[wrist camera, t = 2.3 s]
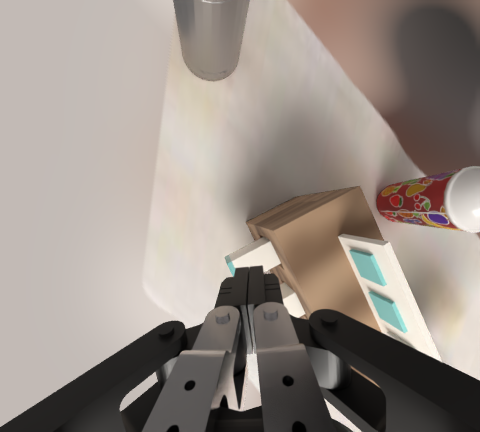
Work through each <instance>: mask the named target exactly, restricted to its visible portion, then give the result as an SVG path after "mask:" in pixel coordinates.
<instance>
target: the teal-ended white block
mask: <svg viewBox="0 0 480 432" xmlns="http://www.w3.org/2000/svg"><path fill="white" fill-rule="evenodd" d="M225 259H226V262H227V265H228V267H229V269H230V271H231V273H232V275H233V277H234V273H235V268H239V267H249V269H250V266H261V265H263V271H264V272H266V271H268V270H270V269H272V268H273V267H275V266H277V265H279V264H281V262H280V260H279V258H278V256H277V254H276V252H275V250H274V248H273V246H272V244H271V242H270V240H269V239H267V238H265V237H262V238H260V239H258V240H257V241H255V242H253V243H251V244H249V245H247V246H245V247H243V248H241V249H239V250H237V251H235V252H233V253H232V254H230V255H228V256H226V257H225Z"/></svg>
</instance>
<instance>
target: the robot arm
mask: <svg viewBox="0 0 480 432" xmlns="http://www.w3.org/2000/svg"><path fill="white" fill-rule="evenodd" d="M249 1H250V0H173V2H174V8H175V14H176V19H177V25H178V31H179V37H180V43H181V49H182V54H183V58H184V61H185V63H186V65H187V67H188V68H189V69H190V70H191V72H192V73H194V74H195V75H196V76H198V77H200V78H202V79H205V80H209V81H216V80H221V79H224V78H226V77H227V76H229V75H230V74H231V73H232V72H233V71H234V69H235V68H236V66H237V63H238V59H239V54H240V48H241V44H242V38H243V33H244V28H245V22H246V17H247V11H248V6H249ZM253 347H254V354H257V363H258V373H259V383H260V393H261V403H262V406H259V407H255V408H252V409H249V410H246V411H244V401H245V394H246V385H247V377H248V366H247V360H246V358H247V354H253ZM351 366H352V367H353V368H355V369H356V370H358V371H359V372H361V373H362V374H364V375H365V376H367V377H368V378H370V379H371V380H373V381H374V382H375V383H376V384H377V385H378V386H379V387H378V386H377V385H375V384H374V383H372V382H371V381H369V380H368V379H366V378H365V377H363V376H362V375H361V374H359V373H358V372H356V371H355V370H353V369H352V368H351ZM154 372H156V375H157V379H158V382H156V383H155V384H154V385H153V386H152V387H151V388H149V389H148V390H147V391H146V392H144V393H143V394H142V395H141V396H140V397H138V398H137V399H136V400H135V401H134V402H132V403H131V404H130V405H129V406H128V407H126V408H125V409H124V410H122V411H121V412H120V410H119V408H120V404H121V402H122V400H123V398H124V397H125V396H126V394H128V393H129V392H130V391H131V390H132V389H134V388H135V387H136V386H137V385H139V384H140V383H141V382H143V381H144V380H145V379H146V378H148V377H149V376H150V375H152V374H153V373H154ZM324 398H325V399H326V400H327V401H328V402H329V403H330V404H332V405H333V406H334V407H335V408H336V409H337V410H338V411H340V412H341V413H342V414H343V415H344V416H345V417H346V418H347V419H349V420H350V421H351V422H352V423H353V424H354V425H355V426H356V427H358V428H359V429H360V430H361V431H362V432H480V381H479V380H477V379H475V378H473V377H471V376H469V375H467V374H465V373H463V372H461V371H459V370H457V369H455V368H453V367H451V366H449V365H447V364H445V363H443V362H441V361H439V360H437V359H435V358H433V357H431V356H429V355H426V354H424V353H422V352H420V351H418V350H416V349H414V348H412V347H410V346H408V345H406V344H404V343H402V342H400V341H398V340H396V339H394V338H392V337H390V336H388V335H386V334H384V333H382V332H380V331H378V330H376V329H374V328H371V327H369V326H367V325H365V324H363V323H361V322H359V321H357V320H355V319H353V318H351V317H349V316H347V315H345V314H343V313H341V312H339V311H336V310H332V309H320V310H316V311H314V312H313V313H311V315H310V316H309V320H308V319H301V318H297V317H294V316H292V315H290V314H289V312H288V310H287V308H286V307H285V306H284V303H283V298H282V293H281V289H280V283H279V278H278V277H277V276H276V275H275V274H274V273H272V274H264V271H263V265H261V266H250V269H249V267H239V268H235V273H234V277H228V278H226V279H225V280H224V281H223V282H222V283H221V287H220V290H219V294H218V297H217V301H216V304H215V308H214V309H213V310H212V311H210V312H209V313H208V314H207V316H206V318H205V321H204V323H202V324H200V325H197V326H194V327H191V328H188V329H185V325H184V324H183V323H182V322H180V321H169V322H165V323H163V324H161V325H159V326H157V327H156V328H154V329H153V330H151V331H150V332H148V333H146V334H145V335H143V336H142V337H140V338H139V339H137V340H135V341H134V342H132V343H131V344H129V345H128V346H126V347H124V348H123V349H121V350H120V351H118V352H117V353H115V354H114V355H112V356H110V357H109V358H107V359H106V360H104V361H103V362H101V363H100V364H98V365H96V366H95V367H93V368H92V369H90V370H89V371H87V372H85V373H84V374H83V375H81V376H79V377H78V378H76V379H75V380H73V381H72V382H70V383H68V384H67V385H65V386H64V387H62V388H61V389H59V390H57V391H56V392H54V393H53V394H51V395H50V396H48V397H47V398H45V399H44V400H42V401H40V402H39V403H37V404H36V405H34V406H33V407H31V408H29V409H28V410H26V411H25V412H23V413H22V414H20V415H18V416H17V417H15V418H14V419H12V420H11V421H9V422H8V423H6V424H4V425H3V426H1V427H0V432H353V431H352V430H350V429H349V428H348V427H346V426H344V425H343V424H341V423H340V422H338V421H336V420H334V419H332V418H331V416H330V413H329V410H328V408H327V405H326V402H325V400H324Z"/></svg>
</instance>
